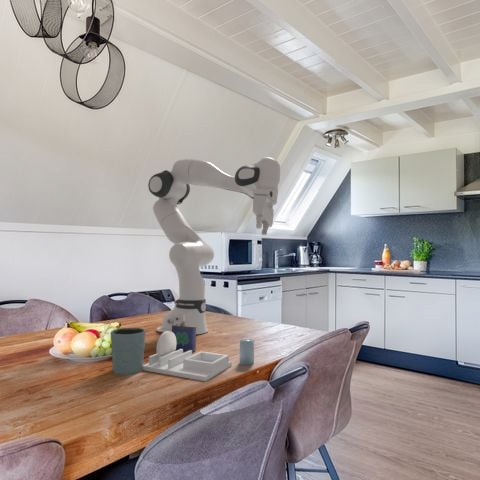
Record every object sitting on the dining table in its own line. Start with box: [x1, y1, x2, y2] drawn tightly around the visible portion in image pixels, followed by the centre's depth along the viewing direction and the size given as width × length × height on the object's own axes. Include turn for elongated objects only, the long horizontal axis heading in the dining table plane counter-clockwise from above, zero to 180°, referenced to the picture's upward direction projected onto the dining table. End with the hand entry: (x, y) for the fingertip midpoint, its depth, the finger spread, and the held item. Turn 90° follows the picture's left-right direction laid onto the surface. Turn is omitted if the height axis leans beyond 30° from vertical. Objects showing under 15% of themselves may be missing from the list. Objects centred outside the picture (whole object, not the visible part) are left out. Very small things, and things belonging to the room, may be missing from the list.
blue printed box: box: [172, 321, 197, 353], centre depth 138 cm, size 9×3×11 cm, turn 74°
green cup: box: [110, 327, 146, 376], centre depth 116 cm, size 10×10×12 cm
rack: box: [142, 331, 233, 382], centre depth 119 cm, size 22×16×10 cm
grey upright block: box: [239, 338, 255, 366], centre depth 125 cm, size 5×5×7 cm
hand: (261, 231), depth 150 cm, fingers open, 8 cm apart
